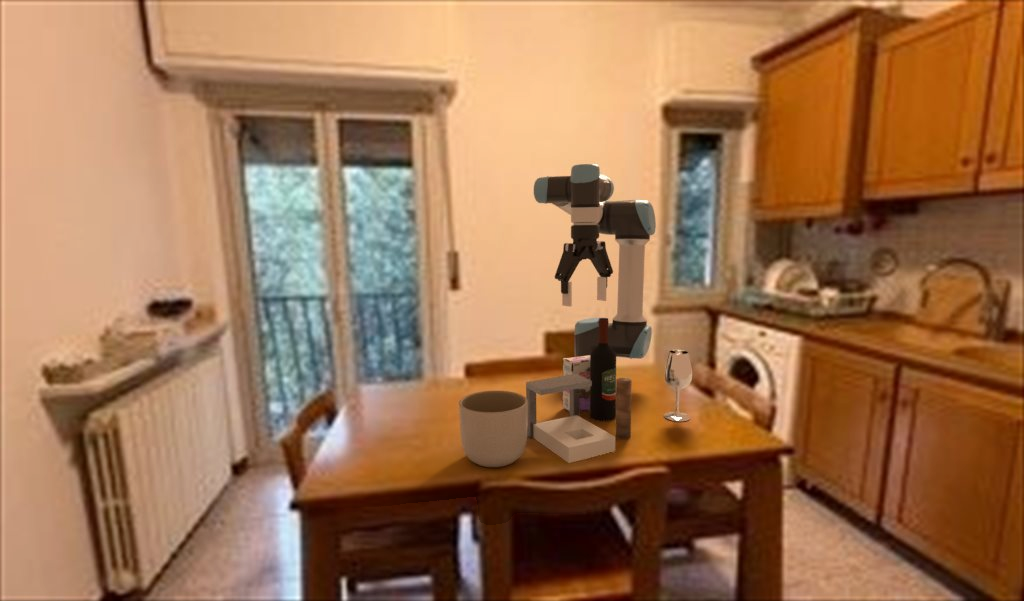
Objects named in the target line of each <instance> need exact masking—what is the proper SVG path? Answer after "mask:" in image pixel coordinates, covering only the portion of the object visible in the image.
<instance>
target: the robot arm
mask: <svg viewBox="0 0 1024 601" xmlns="http://www.w3.org/2000/svg"><path fill="white" fill-rule="evenodd" d="M570 171H571V172H570V175H563V176H562V175H557V176H554V175H553V176H549V175H547V176H543V177H542V176H541V177H539V178H536V180H535V181H534V185H533V196H534V199H535V202H537V203H538V204H545V205H547V204H551V205H554V206H555V207H557V208H559V209H560V210H562V211H563V212H564V213H567V214H568V215H570V222H571V223H572V225H571V226H570V238H571V239H572V243H571V242H569V243H568V242H565V243H564V244H563V248H562V249H563V250H562V254H561V256H560V260H559V263H558V266H557V269H556V271H555V275H554V279H555V280H558V282H560V292H561V296H562V298H561V299H562V300H561V301H562V304H561V305H562V306H565V307H572V305H573V304H572V300H573V299H572V295H573V294H572V292H573V291H572V290H573V289H572V288H573V287H572V285H573V282H572V281H570V280H571V278H572V276H573V275H574V273H575V271H576V269H577V267H578V265H579V264H580V262H582V261H583V260H590V262H591V263H592V265H593V267H594V268H595V270H596V272H597V273H598V275H599V276H597V277H596V278H597V279H596V282H597V283H596V285H597V286H596V291H597V292H596V300H597V301H602V302H603V301H604V302H606V301H607V288H608V278H611V276H612V274H613V273H614V270H613V266H612V264H611V261H610V257H609V255H608V253H607V252H608V251H607V247H606V241H603V240H600V241H599V240H598V239H599V238H600V234H602V235H606V236H607V235H609V236H611V235H613V236H614V240H615V242H616V243H617V244H618V248H619V249H618V274H617V275H618V280H617V305H616V306H617V308H616V309H617V312H616V315H615V316H614V317H613V318H612V322H609V324H608V345H609V347H611V348H612V349H613V350H614V352H615V353H616V358H627V359H630V360H632V359H644V358H645V357H646V356H647V354H648V352H649V348H650V346H651V341H652V334H653V333H652V326H650V325H648V324H647V322H648V320H647V318H646V317H645V316H644V314H643V308H644V303H643V302H644V283H645V282H644V281H645V280H644V279H645V250H646V249H645V248H646V245H647V244H648V242H650V240H651V236H653V235H655V233H656V226H657V224H656V216H655V215H656V214H655V210H654V206H653V205H652V203H651V202H650V201H649V200H641V199H631V200H630V199H629V200H628V199H627V200H610V199H611V198H612V196H613V194H614V190H615V186H614V183H613V180H612V179H611V178H610V177H609V176H606V175H605V174H601V172H600V165H598V164H594V163H583V164H580V163H579V164H574V165H573V166H572V167H571V168H570ZM599 318H600V317H590V318H585V319H581V320H578V321H577V322H575V324H574V333H573V335H574V337H573V338H574V357H580V356H588V355H591V352H592V351H593V349H595V348H596V347H597V346H598V343H599Z"/></svg>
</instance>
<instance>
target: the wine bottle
mask: <svg viewBox="0 0 1024 601" xmlns="http://www.w3.org/2000/svg"><path fill="white" fill-rule="evenodd" d="M598 318H599V343H598V346H597V347H596V348H595V349H593V351H592V352H591V355H590V380H591V381H592V386H590V411H589V417H590V419H592V420H593V421H597V422H611V421H614V420H616V380H617V357H616V353H615V352H614V350H613V349H612V348H611V347H609V345H608V324H609V323H610V320H609V318H608V317H598Z"/></svg>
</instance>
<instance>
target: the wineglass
mask: <svg viewBox="0 0 1024 601" xmlns="http://www.w3.org/2000/svg"><path fill="white" fill-rule="evenodd" d="M667 354H668V355H667V358H666V362H665V368H664V380H665V382H666V383H667V385H668V386H669V387H670V388H672V389H673V390H675V395H676V397H675V398H676V399H675V411H668V412H665V413H664V414H663V417H664V418H665V419H666V420H668V421H672V422H687V421H689V420H690V419H691V416H690V415H689V414H688V413H685V412H681V411H680V410H679V407H680V406H679V405H680V404H679V401H680V391H681V390H684V389H685V388H687V387H689V385H690V384H691V382H692V378H693V370H692V369H693V368H692V364H691V357H690V353H689V351H687V350H683V349H671V350H668V353H667Z"/></svg>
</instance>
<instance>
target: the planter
mask: <svg viewBox="0 0 1024 601" xmlns="http://www.w3.org/2000/svg"><path fill="white" fill-rule="evenodd" d="M458 413H459V414H458V415H459V428H460V429H459V431H460V440H461V447H462V450H463V452H464V454H465V456H466V457H467V458H468V459H469V460H470V461H471V462H473V463H474V464H476V465H479V466H481V467H485V468H500V467H505V466H509V465H511V464H513V463H514V462H516V461H517V460H519V459H520V458H521V457H522V455H523V453H524V452H525V449H526V446H527V439H528V437H527V426H528V400H527V398H526V396H524V395H523V394H521V393H518V392H514V391H508V390H483V391H477V392H473V393H470V394H467V395H464V396H463V397H462V398H460V399H459V401H458Z"/></svg>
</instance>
